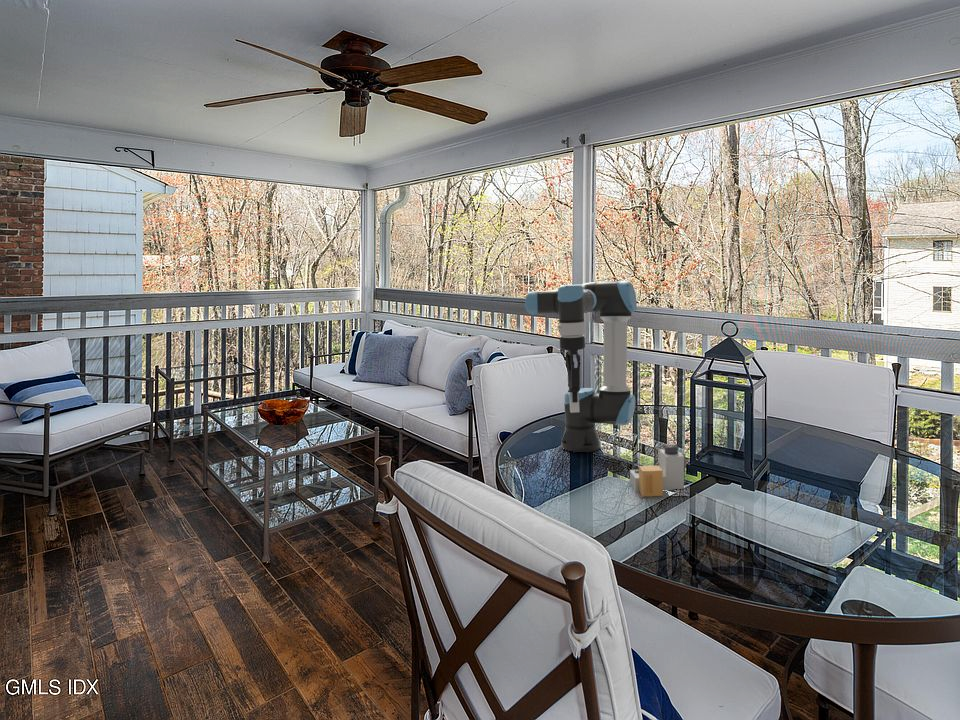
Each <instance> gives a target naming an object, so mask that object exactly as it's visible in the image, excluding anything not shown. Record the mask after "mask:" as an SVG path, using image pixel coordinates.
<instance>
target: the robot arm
mask: <svg viewBox="0 0 960 720" xmlns="http://www.w3.org/2000/svg"><path fill="white" fill-rule="evenodd" d="M524 304H525V307H524V308H525V310H526V311H527V313H528V314H530V315H550V314H551V315H552V314H553V315H554V314H555V315H558V322H559V325H557V329H558V330H559V335H560V337H559V348H560V350H563V351H567V354H565V360H566V369H567V388H568V389H567V391H566V393H565V394H564V404H563V405H564V406H563V407H564V424H565V425H564V427H565V428H564V432H563V435H562V438H561V441H560V443H561V445H560V446H562V447H563V448H564V449H566V450H568V451H567V452H569V451H573V452H572V453H575V452H587V453H592V452H596V451H598V450H600V448H601V440H600V437H599V435H598V432H597V429H596V424H603V425H614V426H627V425H629V424H631V422H632V419H633V417H634V414H635V409H636V395H634V394H633V393H631V388H630V387H629V386H628V385H627V384H628V383H627V375H628V374H627V371H628V370H627V368H628V366H627V365H628V364H627V361H628V360H627V359H628V355H627V353H628V352H627V351H628V343H627V342H628V321H629V320H630V319H631V318H632V313H635V312H636V310H637V295H636V290H635V287H634V285H633V284H632V282H630V281H629V280H611V281H610V280H608V281H591V282H589V281H588V282H586V283H585V282H584V283H581V284H562V285H560V286H559V287H558V289H553V290H552V289H550V290H535V291H532V290H531V291H529V292H527V294H526V295H525V300H524ZM587 313H599V319H601V320H602V321H603V360H602V361H603V372H602V373H603V381H602V382H603V383H602V386H600V387H599V389H598V392H596V391H595V389H594V388H593V387H592V388H591V387H581V386H580V385H581V381H580V378H581V377H580V376H581V371H580V370H581V369H580V367H581V355H580V354H579V353H578V350H584V349H585V348H586V339H585V336H584V335H585V333H586V332H585V331H586V330H585V327H586V326H585V314H587ZM562 447H561V448H562ZM566 450H565V451H566Z"/></svg>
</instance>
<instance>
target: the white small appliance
mask: <svg viewBox="0 0 960 720" xmlns="http://www.w3.org/2000/svg"><path fill="white" fill-rule="evenodd" d="M680 452H681V451H680V450H679V446H678V445H677V444H676V445H675V444H665V445H664V448H663V449H661V448H660V449H659V450H658V456H659V457H658V466H659V467H660V468H661V469H662V470H663V490H672V489H682V488H684V489H685V472H684V456H683V455H682V454H681V453H680ZM629 485H630V486H631V487H632V489H633V490H634V492H635V494H636V495H637V497H638V498H639V499H653V498H655V499H657V498H669V497H668V496H669V495H668V492H667V491H663V496H644V497H643V496H642V495H641V493H640V491H639V468H638V469H637V468H636V469H629ZM666 492H667V493H666Z"/></svg>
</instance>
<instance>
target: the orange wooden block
mask: <svg viewBox="0 0 960 720" xmlns="http://www.w3.org/2000/svg"><path fill="white" fill-rule="evenodd" d="M638 469H639V491H640V493H641V495H642V496H643V497H644V496H663V470H662V469H661V468H660V467H659V465H641V466H640V465H639V466H638Z"/></svg>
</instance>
